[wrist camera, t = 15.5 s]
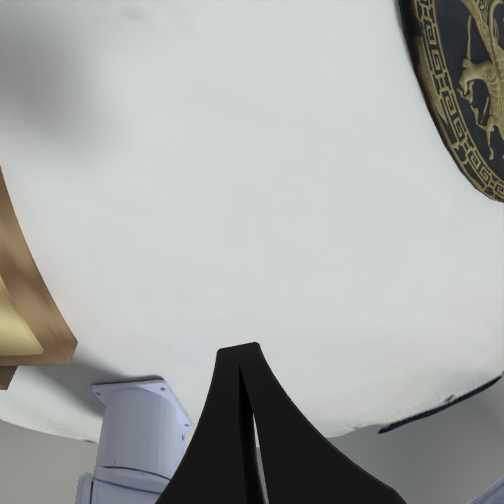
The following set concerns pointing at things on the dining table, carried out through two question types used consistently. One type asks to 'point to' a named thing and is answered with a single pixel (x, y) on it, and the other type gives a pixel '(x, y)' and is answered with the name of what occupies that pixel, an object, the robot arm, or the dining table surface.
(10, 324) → the frame
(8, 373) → the ledge
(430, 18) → the decorative plate
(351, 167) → the dining table surface
